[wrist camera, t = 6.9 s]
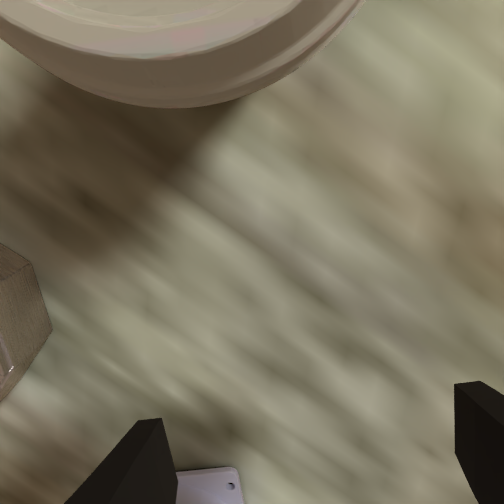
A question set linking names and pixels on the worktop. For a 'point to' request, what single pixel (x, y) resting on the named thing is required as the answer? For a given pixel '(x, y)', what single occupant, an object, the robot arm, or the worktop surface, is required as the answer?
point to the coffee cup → (172, 44)
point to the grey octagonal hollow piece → (19, 318)
